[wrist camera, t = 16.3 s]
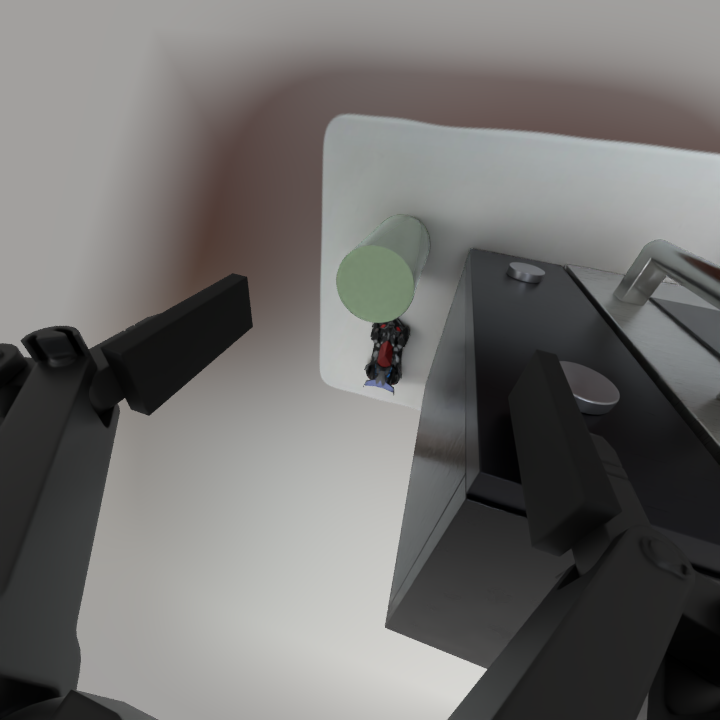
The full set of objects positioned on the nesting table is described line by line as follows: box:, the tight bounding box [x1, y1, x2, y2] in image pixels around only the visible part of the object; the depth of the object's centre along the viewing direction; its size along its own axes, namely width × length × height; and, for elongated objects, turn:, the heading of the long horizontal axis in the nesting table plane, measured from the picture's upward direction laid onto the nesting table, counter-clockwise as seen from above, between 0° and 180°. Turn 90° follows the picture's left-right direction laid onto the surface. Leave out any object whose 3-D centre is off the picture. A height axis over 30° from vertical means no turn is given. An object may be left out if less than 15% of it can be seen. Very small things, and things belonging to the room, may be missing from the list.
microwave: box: [385, 248, 720, 720], centre depth 26 cm, size 22×40×31 cm, turn 83°
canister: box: [336, 214, 430, 323], centre depth 32 cm, size 7×7×14 cm
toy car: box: [363, 318, 410, 396], centre depth 45 cm, size 6×12×4 cm, turn 175°
